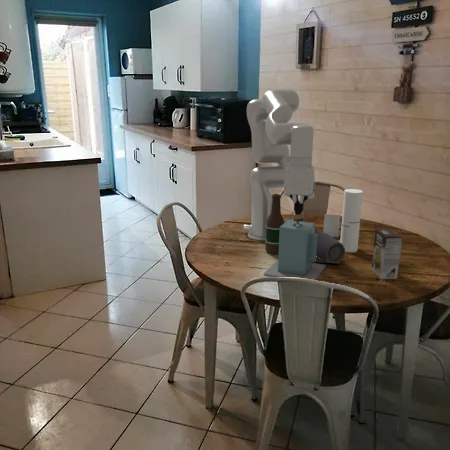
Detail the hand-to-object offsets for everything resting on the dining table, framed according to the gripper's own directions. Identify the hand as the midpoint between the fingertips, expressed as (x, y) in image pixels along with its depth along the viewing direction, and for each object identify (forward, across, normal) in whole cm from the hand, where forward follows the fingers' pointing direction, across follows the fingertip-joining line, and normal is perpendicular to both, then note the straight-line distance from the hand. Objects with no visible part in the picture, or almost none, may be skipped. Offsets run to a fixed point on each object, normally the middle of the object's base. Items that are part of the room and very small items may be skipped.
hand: (298, 213), depth 164 cm
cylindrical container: (+22, +13, +32) cm, 41 cm away
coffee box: (+22, +30, +11) cm, 39 cm away
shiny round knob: (+16, 0, 0) cm, 16 cm away
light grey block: (+22, +2, +47) cm, 52 cm away
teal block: (+22, 0, 0) cm, 22 cm away
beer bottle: (+22, -14, +16) cm, 31 cm away
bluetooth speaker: (+22, +4, +19) cm, 30 cm away
